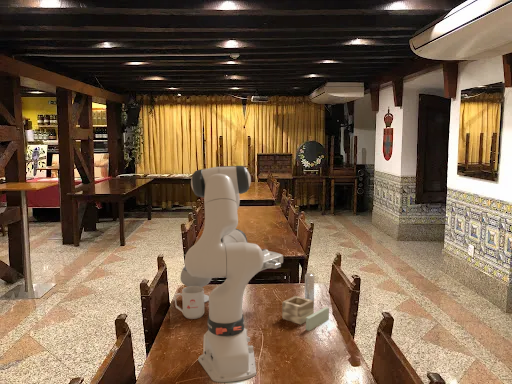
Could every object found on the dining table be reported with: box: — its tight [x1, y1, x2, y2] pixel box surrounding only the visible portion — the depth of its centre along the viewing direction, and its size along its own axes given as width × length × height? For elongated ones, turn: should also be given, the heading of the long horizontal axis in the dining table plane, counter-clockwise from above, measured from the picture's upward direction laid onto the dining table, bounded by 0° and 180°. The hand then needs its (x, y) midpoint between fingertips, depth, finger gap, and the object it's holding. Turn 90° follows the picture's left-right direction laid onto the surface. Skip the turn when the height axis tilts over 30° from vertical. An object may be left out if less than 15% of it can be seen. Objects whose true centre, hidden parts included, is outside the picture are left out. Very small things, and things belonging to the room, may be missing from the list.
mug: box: [174, 286, 205, 320], centre depth 181 cm, size 12×9×11 cm
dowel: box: [304, 272, 315, 302], centre depth 190 cm, size 4×4×14 cm
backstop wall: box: [305, 306, 330, 332], centre depth 172 cm, size 2×14×5 cm, turn 139°
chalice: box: [179, 266, 213, 304], centre depth 198 cm, size 14×14×15 cm
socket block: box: [281, 295, 315, 325], centre depth 178 cm, size 9×9×7 cm
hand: (278, 265), depth 182 cm, fingers closed
